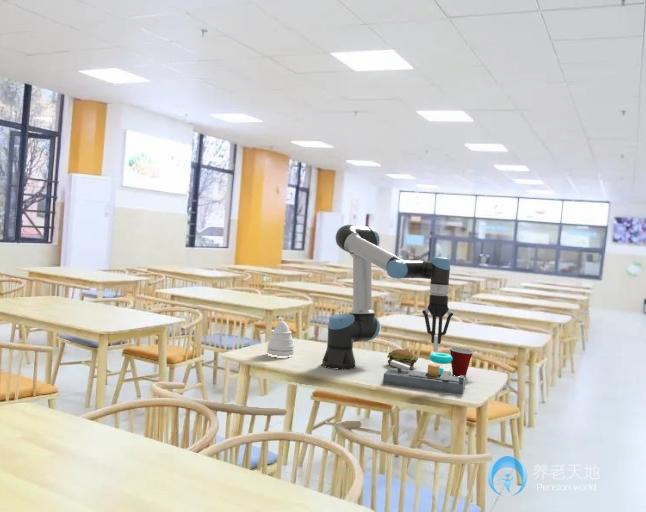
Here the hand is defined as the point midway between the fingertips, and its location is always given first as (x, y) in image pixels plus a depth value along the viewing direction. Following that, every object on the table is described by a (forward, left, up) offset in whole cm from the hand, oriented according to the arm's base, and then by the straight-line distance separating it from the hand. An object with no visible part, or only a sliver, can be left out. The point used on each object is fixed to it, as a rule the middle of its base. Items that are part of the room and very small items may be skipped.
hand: (435, 351), depth 249 cm
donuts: (+1, +16, -14) cm, 22 cm away
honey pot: (-75, +17, -14) cm, 79 cm away
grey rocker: (-14, 0, -8) cm, 16 cm away
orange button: (0, 0, -11) cm, 11 cm away
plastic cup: (+9, +24, -14) cm, 29 cm away
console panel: (-3, -3, -14) cm, 15 cm away
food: (-18, +28, -14) cm, 37 cm away
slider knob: (+6, -6, -10) cm, 13 cm away
